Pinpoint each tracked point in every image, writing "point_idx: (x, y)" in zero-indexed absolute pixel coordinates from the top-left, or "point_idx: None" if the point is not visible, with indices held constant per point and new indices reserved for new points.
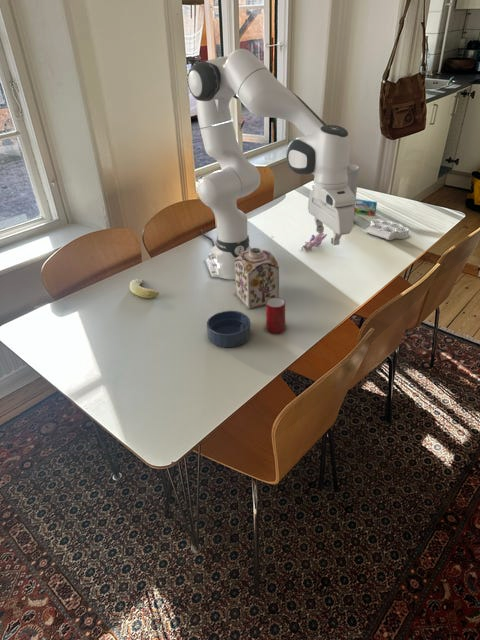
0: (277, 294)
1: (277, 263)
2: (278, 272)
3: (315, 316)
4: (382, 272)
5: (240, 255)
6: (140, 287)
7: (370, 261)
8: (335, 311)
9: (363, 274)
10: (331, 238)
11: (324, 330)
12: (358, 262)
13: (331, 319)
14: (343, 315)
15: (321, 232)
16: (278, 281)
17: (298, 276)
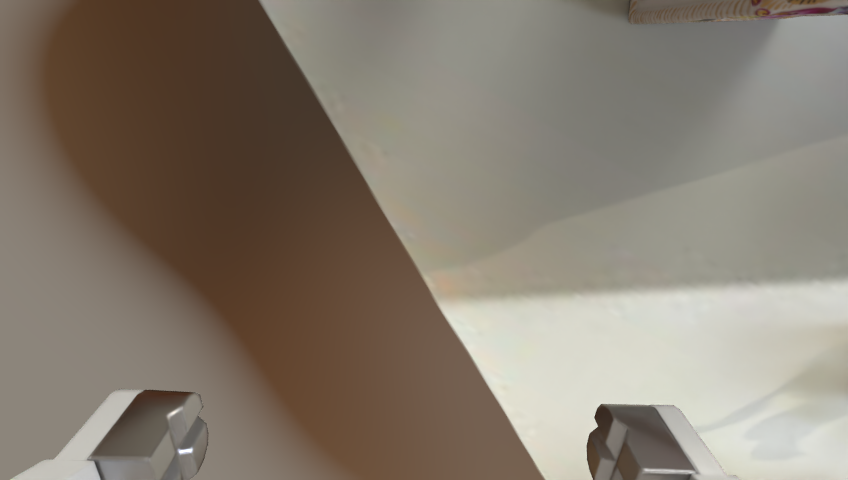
0: (646, 10)
1: (798, 11)
2: (727, 8)
3: (433, 119)
4: (572, 458)
5: None
6: None
7: None
8: (431, 210)
9: None
10: (146, 452)
11: (325, 101)
12: None
13: (387, 167)
14: (393, 222)
15: (593, 436)
16: (687, 11)
17: (748, 211)
